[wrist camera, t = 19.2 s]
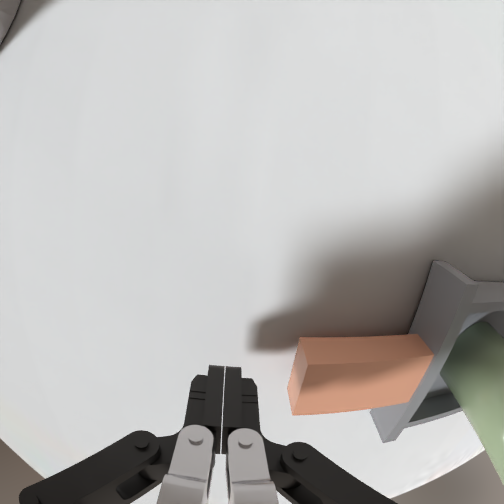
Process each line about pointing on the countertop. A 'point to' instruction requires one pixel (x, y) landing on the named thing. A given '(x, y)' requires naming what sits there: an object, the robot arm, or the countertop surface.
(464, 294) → the tray
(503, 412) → the jar
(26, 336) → the countertop surface
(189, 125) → the countertop surface
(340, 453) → the countertop surface
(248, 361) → the countertop surface
